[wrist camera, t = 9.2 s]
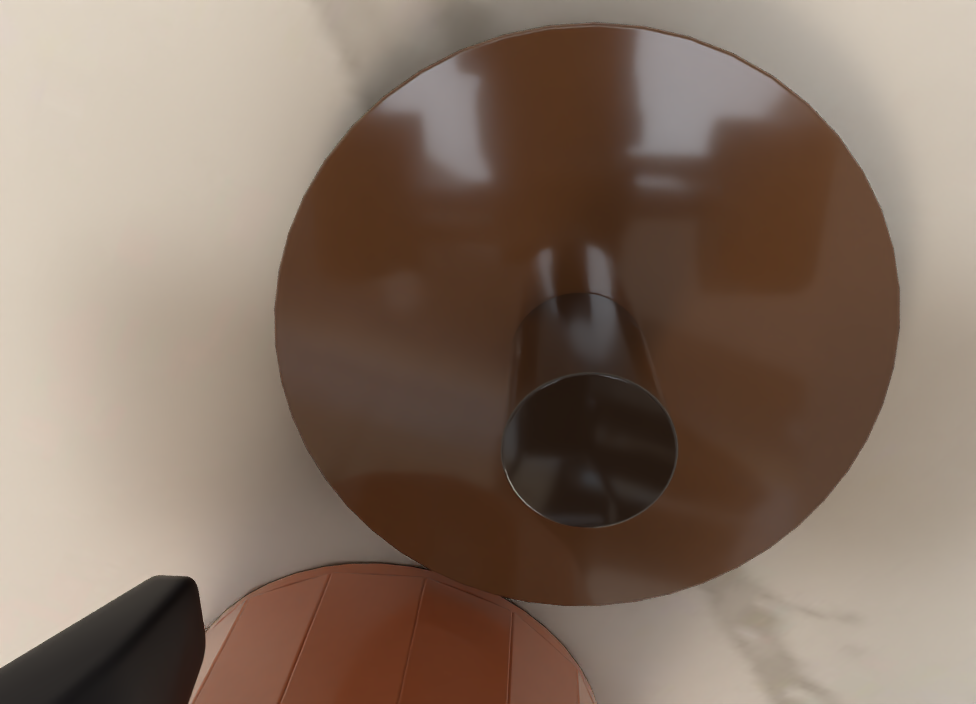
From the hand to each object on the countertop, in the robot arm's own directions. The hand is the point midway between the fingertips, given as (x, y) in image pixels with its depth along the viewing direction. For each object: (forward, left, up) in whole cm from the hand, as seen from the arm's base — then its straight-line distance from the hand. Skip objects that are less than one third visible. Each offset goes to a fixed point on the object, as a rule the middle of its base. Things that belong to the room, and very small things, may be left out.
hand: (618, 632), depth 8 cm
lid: (0, 0, -8) cm, 8 cm away
